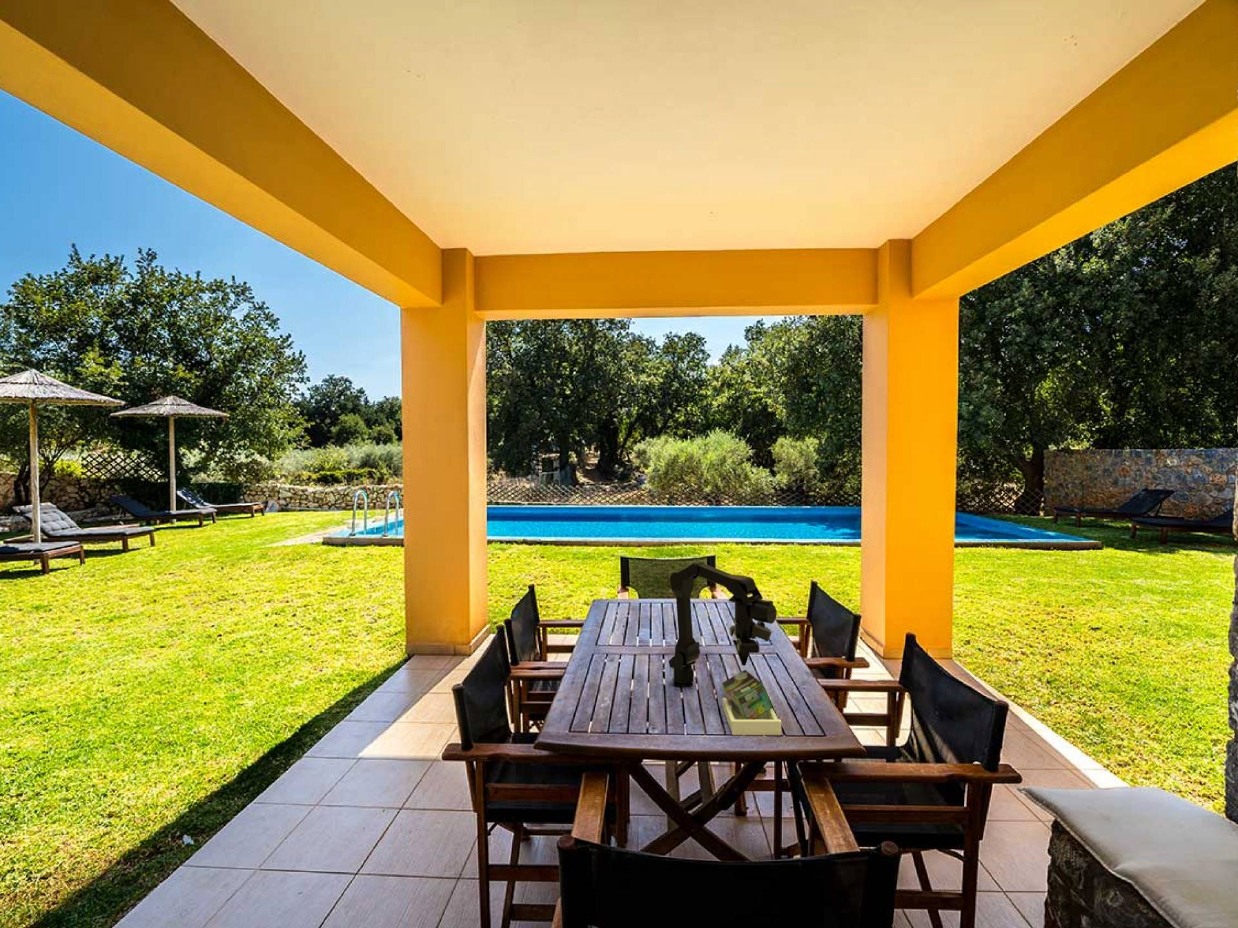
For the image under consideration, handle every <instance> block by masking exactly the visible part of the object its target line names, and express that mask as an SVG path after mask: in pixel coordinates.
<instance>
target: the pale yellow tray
mask: <svg viewBox="0 0 1238 928" xmlns="http://www.w3.org/2000/svg"><path fill="white" fill-rule="evenodd" d="M729 703H730V702H729V700H728V697H722V709H723V712H724V715H725V718H726V720H727V724H728V727H729V729H730V733H731V734H732V736H782V720H781V719H779V718H778V716H777V714H776V713H775V710H774V709H773V708H772V709H770V710H769V711H767V712H766V713H764V714H763V715H761V716H760V717H758V718H756V719H755V720H745V719H744V718H743V717H742V716H741V715H740V714H739V713H738V712H737V711H736V710H735V709H734V708H733V707H732V706H731V705H730V704H729Z"/></svg>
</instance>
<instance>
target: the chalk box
mask: <svg viewBox="0 0 1238 928" xmlns="http://www.w3.org/2000/svg"><path fill="white" fill-rule="evenodd" d="M722 687H723V690H724V691H725V694H726V698H727V700H728V703H730V704H729V705H730V706H732V707H733V708H734V709H735V710H736V711H737V712H738V713H739V714H740V715H741V716H742V717H743V718H744V719H745V720H755V719H756V718H758V717H760V716H761V715H763V714H764V713H766V712H767V711H769V710H770V709H773V705H772V704H771V701H770V699H769V696H768V693H767V691H766V689H765V687H764V684H763V682H761V681H760V680H759V679H757V678H756V677H755V676H754V675H752V673H750V672H748V670H746V669H743V670H742V671H740V672H739V673H737V674H735V675H733V676H732V677H729V678H728V679H725V681H723V682H722Z"/></svg>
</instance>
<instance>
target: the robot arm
mask: <svg viewBox="0 0 1238 928" xmlns="http://www.w3.org/2000/svg"><path fill="white" fill-rule="evenodd" d="M699 577H701V578H702V579H704V580H708V581H710V582H712V583H715V584H717V585H720V586H721V587H724V588H725V589H726V590H727V591H728V592H729V593H730V594H731V595H732V596H730V597H729V598H728V602H731V603H734V617H733V623H734V625H731V626H730V627H729V636H730V637H733V636H734V638H735V639H734V640H732V643H733V645H734V648H735V650H736V651H735V652H736V653H737V656H738V658H739V660H740V663H741V666H746V665H747V663H748V658H749V654H758V653H760V645H759V643H758V642H757V641H756V639H757V638H758V639H760V640H764V641H765V642H769V641H770V637H771V636H772V631H771V629H770V628H768V627H767V626H766V624H765V623H767V624H770V625H771V624H773V623H775V621H776V619H777V616H778V610H777V609H776V608H777V607H776V606H775V605H774V601H773V600H766V599H764V598H763V595H762V594H761V591H760V590H759V588H758V586H757V584H756V581H755V579H754V578H753V577H751V576H748V575H747V576H745V575H742V574H741V575H739V574H731V573H729V572H726V571H724V570H721V569H719V568H716V567H714V566H711V565H710V564H706V563H705V562H703V561H698V562H694V563H691V564H690V565H689V566H687V567H685V568H684V569H681V570H678V571H674V572H672V573H671V574H670V576H669V584H670V589H671V591H672V593H673V594H674V595H675V600H676V617H677V630H678V631H677V632H678V639H677V641H676V644H675V647H674V655H673V656H672V657H671V658H670V659H669V660H668V664H669V667H670V668H672V670H673V671H672V672H673V674H672V675H673V677H672V682H673V686H674V687H694V686H693V683H694V682H695V681H694V680H695V678H694V677H695V674H694V668H693V667H692V666H693V665H695V664H696V661H698V659H699V657H700V654H701V650H700V649H701V648H700V647H701V646H700V645H701V644H700V642H699V641H696V640H695V638H694V634H693V621H692V619H693V618H692V605H691V603H692V602H691V595H692V592H693V590H694V585H695V580H696V579H698V578H699ZM750 595H751V596H750ZM755 621H758V622H757V623H756V622H755Z"/></svg>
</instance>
